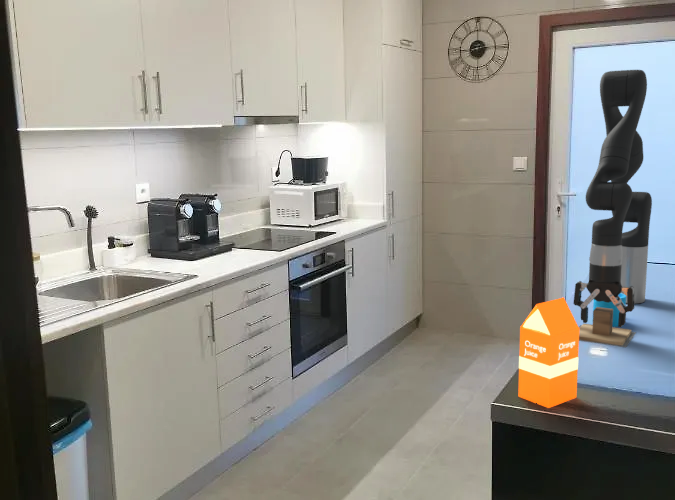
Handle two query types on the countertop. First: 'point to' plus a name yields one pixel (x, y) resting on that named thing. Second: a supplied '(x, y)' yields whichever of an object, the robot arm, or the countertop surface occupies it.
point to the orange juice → (549, 354)
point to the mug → (611, 306)
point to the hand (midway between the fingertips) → (602, 324)
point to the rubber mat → (614, 344)
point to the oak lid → (603, 329)
